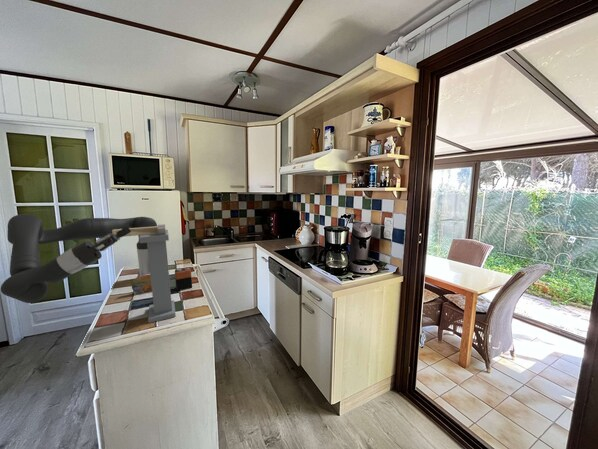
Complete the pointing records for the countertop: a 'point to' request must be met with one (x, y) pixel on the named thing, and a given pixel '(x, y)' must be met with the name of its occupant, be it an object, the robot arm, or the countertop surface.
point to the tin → (142, 284)
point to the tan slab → (145, 230)
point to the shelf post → (159, 277)
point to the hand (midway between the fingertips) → (129, 228)
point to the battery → (183, 278)
